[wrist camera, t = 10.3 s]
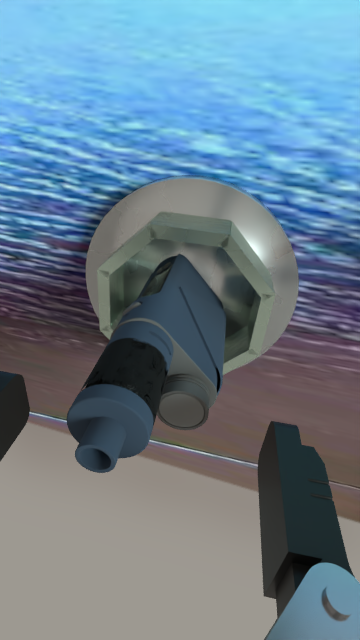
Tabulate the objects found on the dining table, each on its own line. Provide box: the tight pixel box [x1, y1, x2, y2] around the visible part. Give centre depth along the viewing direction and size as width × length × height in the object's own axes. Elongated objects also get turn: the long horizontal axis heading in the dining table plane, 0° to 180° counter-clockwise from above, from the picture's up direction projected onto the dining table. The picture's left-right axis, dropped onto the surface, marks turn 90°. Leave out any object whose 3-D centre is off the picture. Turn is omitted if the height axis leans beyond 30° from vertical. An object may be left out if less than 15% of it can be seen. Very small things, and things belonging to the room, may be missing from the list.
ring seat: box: [86, 175, 299, 375], centre depth 18 cm, size 12×12×4 cm
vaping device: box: [67, 254, 226, 473], centre depth 14 cm, size 3×5×12 cm, turn 39°
